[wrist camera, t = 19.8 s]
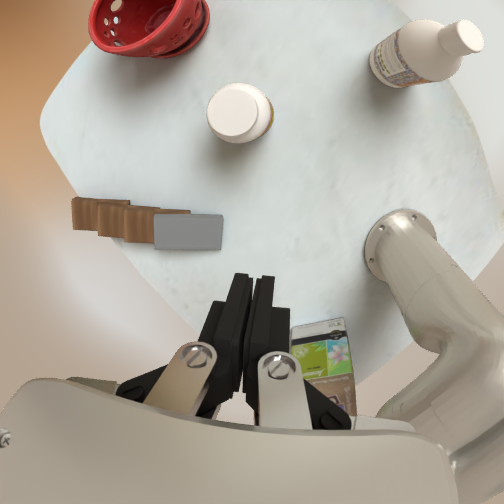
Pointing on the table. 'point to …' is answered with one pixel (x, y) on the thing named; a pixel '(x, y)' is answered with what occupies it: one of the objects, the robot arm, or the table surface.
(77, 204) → the domino
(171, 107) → the table surface
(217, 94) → the supplement bottle
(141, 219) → the domino
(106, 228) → the domino
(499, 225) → the table surface
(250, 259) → the table surface
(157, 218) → the head domino
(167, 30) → the plant pot
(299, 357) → the tea box
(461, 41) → the bath foam
